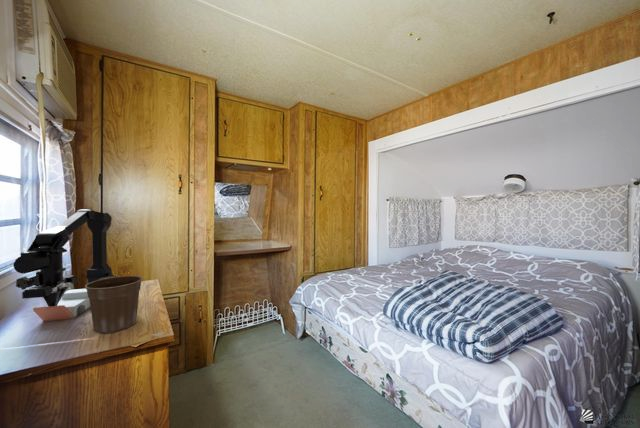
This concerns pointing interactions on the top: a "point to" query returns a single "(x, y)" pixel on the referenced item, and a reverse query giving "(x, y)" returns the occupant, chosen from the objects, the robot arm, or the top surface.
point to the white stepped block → (75, 301)
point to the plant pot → (114, 302)
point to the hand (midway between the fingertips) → (52, 309)
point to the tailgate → (53, 313)
